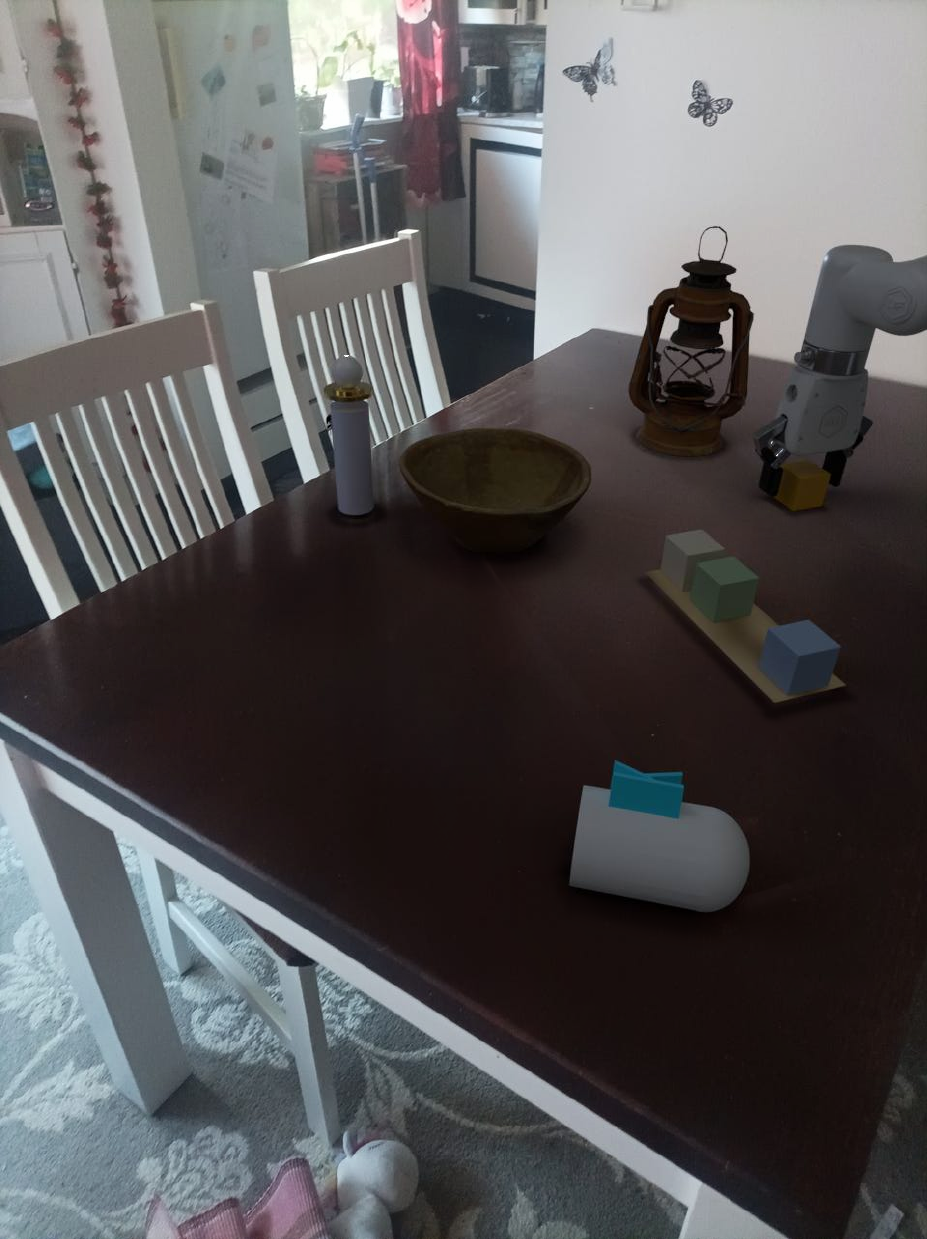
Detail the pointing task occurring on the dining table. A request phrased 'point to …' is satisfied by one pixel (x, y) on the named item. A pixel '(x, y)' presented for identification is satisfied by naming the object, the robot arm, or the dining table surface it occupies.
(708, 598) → the sage block
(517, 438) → the bowl
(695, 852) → the grey rounded block
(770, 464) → the robot arm
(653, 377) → the lantern
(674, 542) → the cream block
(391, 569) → the dining table surface
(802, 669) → the blue block
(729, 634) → the board
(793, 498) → the mustard block
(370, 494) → the perfume bottle
